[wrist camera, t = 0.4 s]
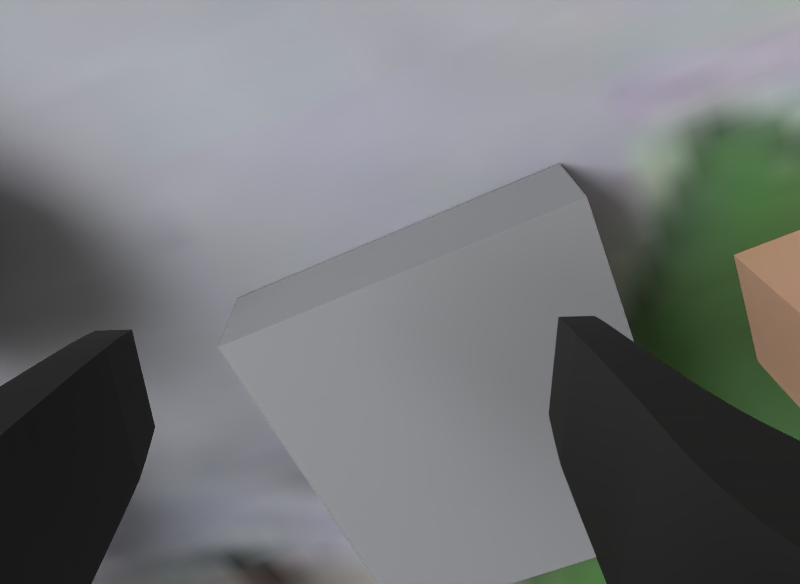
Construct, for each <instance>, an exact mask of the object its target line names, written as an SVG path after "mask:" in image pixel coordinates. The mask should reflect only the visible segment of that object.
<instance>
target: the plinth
mask: <svg viewBox="0 0 800 584" xmlns="http://www.w3.org/2000/svg"><path fill="white" fill-rule="evenodd" d="M570 316H596V317H597V318H599V319H601V320H602V321H604V322H606V323H607V324H609V325H610V326H612V327H613V328H614V329H616V330H617V331H619V332H620V333H622V334H623V335H624V336H626V337H627V338H629V339H630V340H632V341H633V342H634V340H633V337H632V334H631V331H630V328H629V325H628V322H627V319H626V315H625V312H624V309H623V306H622V303H621V300H620V297H619V294H618V291H617V288H616V285H615V282H614V278H613V275H612V272H611V269H610V266H609V263H608V260H607V257H606V254H605V251H604V248H603V245H602V242H601V238H600V235H599V232H598V229H597V226H596V223H595V220H594V217H593V214H592V211H591V208H590V205H589V202H588V198H587V196H586V195H585V194H584V193H583V191H582V190H581V189H580V188H579V186H578V185H577V184H576V183H575V182H574V180H573V179H572V178H571V177H570V175H569V174H568V173H567V172H566V171H565V169H564V168H563V167H562V166H561V164H560V163H559V164H556V165H554V166H552V167H549V168H547V169H545V170H542V171H540V172H537V173H535V174H533V175H530V176H528V177H525V178H523V179H521V180H518V181H516V182H514V183H511V184H509V185H506V186H504V187H502V188H499V189H497V190H494V191H492V192H490V193H487V194H485V195H483V196H480V197H478V198H475V199H473V200H471V201H468V202H466V203H463V204H461V205H459V206H456V207H454V208H452V209H449V210H447V211H444V212H442V213H440V214H437V215H435V216H432V217H430V218H428V219H425V220H423V221H421V222H418V223H416V224H413V225H411V226H409V227H406V228H404V229H401V230H399V231H397V232H394V233H392V234H390V235H387V236H385V237H382V238H380V239H378V240H375V241H373V242H370V243H368V244H366V245H363V246H361V247H359V248H356V249H354V250H351V251H349V252H347V253H344V254H342V255H339V256H337V257H335V258H332V259H330V260H328V261H325V262H323V263H320V264H318V265H316V266H313V267H311V268H308V269H306V270H304V271H301V272H299V273H297V274H294V275H292V276H289V277H287V278H285V279H282V280H280V281H277V282H275V283H273V284H270V285H268V286H266V287H263V288H261V289H258V290H256V291H254V292H251V293H249V294H246V295H244V296H242V297H239V298H237V301H236V303H235V305H234V308H233V310H232V313H231V315H230V318H229V320H228V323H227V325H226V327H225V330H224V332H223V335H222V337H221V340H220V342H219V345H218V347H217V348H218V349H219V351H220V352H221V354H222V355H223V357H224V358H225V360H226V361H227V363H228V364H229V366H230V367H231V369H232V370H233V372H234V373H235V374H236V376H237V377H238V379H239V380H240V382H241V383H242V385H243V386H244V388H245V389H246V391H247V392H248V394H249V395H250V397H251V398H252V400H253V401H254V403H255V404H256V406H257V407H258V408H259V410H260V411H261V413H262V414H263V416H264V417H265V419H266V420H267V422H268V423H269V425H270V426H271V428H272V429H273V431H274V432H275V434H276V435H277V437H278V438H279V440H280V441H281V443H282V444H283V445H284V447H285V448H286V450H287V451H288V453H289V454H290V456H291V457H292V459H293V460H294V462H295V463H296V465H297V466H298V468H299V469H300V471H301V472H302V474H303V475H304V477H305V478H306V479H307V481H308V482H309V484H310V485H311V487H312V488H313V490H314V491H315V493H316V494H317V496H318V497H319V499H320V500H321V502H322V503H323V505H324V506H325V508H326V509H327V511H328V512H329V513H330V515H331V516H332V518H333V519H334V521H335V522H336V524H337V525H338V527H339V528H340V530H341V531H342V533H343V534H344V536H345V537H346V539H347V540H348V542H349V543H350V545H351V546H352V548H353V549H354V550H355V552H356V553H357V555H358V556H359V558H360V559H361V561H362V562H363V564H364V565H365V567H366V568H367V570H368V571H369V573H370V574H371V576H372V577H373V579H374V580H375V582H376V583H377V584H512V583H515V582H518V581H521V580H524V579H528V578H531V577H534V576H537V575H540V574H544V573H547V572H550V571H553V570H556V569H559V568H563V567H566V566H569V565H572V564H575V563H579V562H582V561H585V560H588V559H591V558H595V557H596V555H595V552H594V550H593V547H592V545H591V542H590V540H589V537H588V535H587V532H586V529H585V527H584V524H583V522H582V519H581V517H580V514H579V512H578V509H577V507H576V504H575V501H574V499H573V496H572V494H571V491H570V488H569V486H568V483H567V481H566V478H565V475H564V473H563V470H562V467H561V465H560V461H559V457H558V453H557V449H556V445H555V441H554V436H553V432H552V427H551V423H550V419H549V405H550V395H551V385H552V375H553V365H554V356H555V346H556V336H557V326H558V317H570Z"/></svg>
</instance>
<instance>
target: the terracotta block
mask: <svg viewBox="0 0 800 584" xmlns="http://www.w3.org/2000/svg"><path fill="white" fill-rule="evenodd" d="M734 259H735V263H736V267H737V272H738V276H739V281H740V285H741V290H742V294H743V299H744V303H745V307H746V312H747V316H748V321H749V325H750V330H751V334H752V339H753V343H754V347H755V352H756V356H757V361H758V362H759V363H760V364H761V366H762V367H763V368H764V369H765V370H766V371H767V372H768V373H769V374H770V376H771V377H772V378H773V379H774V380H775V381H776V382H777V383H778V384H779V385H780V387H781V388H782V389H783V390H784V391H785V392H786V393H787V394H788V395H789V396H790V398H791V399H792V400H793V401H794V402H795V403H796V404H797V405H798V406H799V408H800V230H798V231H796V232H793V233H790V234H788V235H785V236H782V237H780V238H777V239H775V240H772V241H769V242H767V243H764V244H761V245H759V246H756V247H753V248H751V249H748V250H745V251H743V252H740V253H738V254H735V255H734Z"/></svg>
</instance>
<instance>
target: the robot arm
mask: <svg viewBox="0 0 800 584" xmlns="http://www.w3.org/2000/svg"><path fill="white" fill-rule="evenodd" d="M549 419H550V423H551V427H552V432H553V436H554V441H555V445H556V449H557V453H558V457H559V461H560V465H561V467H562V470H563V473H564V475H565V478H566V481H567V483H568V486H569V488H570V491H571V494H572V496H573V499H574V501H575V504H576V507H577V509H578V512H579V514H580V517H581V519H582V522H583V524H584V527H585V529H586V532H587V535H588V537H589V540H590V542H591V545H592V547H593V550H594V552H595V555H596V557H597V560H598V562H599V565H600V568H601V570H602V573H603V575H604V578H605V580H606V583H607V584H800V441H799V440H797V439H795V438H793V437H791V436H789V435H787V434H785V433H783V432H781V431H779V430H777V429H775V428H773V427H771V426H769V425H767V424H765V423H763V422H761V421H759V420H757V419H755V418H753V417H751V416H749V415H748V414H746V413H744V412H742V411H740V410H738V409H737V408H735V407H733V406H731V405H730V404H728V403H726V402H725V401H723V400H721V399H720V398H718V397H716V396H715V395H713V394H711V393H710V392H708V391H706V390H705V389H703V388H701V387H700V386H698V385H697V384H695V383H694V382H692V381H690V380H689V379H687V378H686V377H684V376H683V375H681V374H680V373H678V372H677V371H675V370H674V369H672V368H671V367H669V366H668V365H666V364H665V363H663V362H662V361H660V360H659V359H657V358H656V357H654V356H653V355H652V354H650V353H649V352H647V351H646V350H644V349H643V348H642V347H640V346H639V345H637V344H636V343H634V342H633V341H632V340H630V339H629V338H627V337H626V336H624V335H623V334H622V333H620V332H619V331H617V330H616V329H614V328H613V327H612V326H610V325H609V324H607V323H606V322H604V321H602V320H601V319H599V318H597V317H596V316H570V317H558V326H557V336H556V346H555V356H554V365H553V375H552V385H551V395H550V405H549ZM154 429H155V425H154V421H153V417H152V412H151V408H150V404H149V400H148V396H147V391H146V387H145V383H144V379H143V375H142V371H141V366H140V362H139V358H138V354H137V350H136V345H135V341H134V337H133V333H132V330H108V331H94V332H92V333H90V334H88V335H86V336H84V337H82V338H80V339H78V340H76V341H75V342H73V343H71V344H69V345H68V346H66V347H64V348H63V349H61V350H59V351H58V352H56V353H54V354H53V355H51V356H49V357H48V358H46V359H44V360H43V361H41V362H39V363H38V364H36V365H35V366H33V367H31V368H30V369H28V370H26V371H25V372H23V373H22V374H20V375H18V376H17V377H15V378H13V379H12V380H10V381H8V382H7V383H5V384H4V385H2V386H0V584H91V583H92V581H93V579H94V577H95V575H96V573H97V571H98V568H99V566H100V564H101V562H102V560H103V558H104V556H105V553H106V551H107V549H108V547H109V545H110V543H111V541H112V538H113V536H114V534H115V532H116V530H117V528H118V526H119V524H120V521H121V519H122V517H123V515H124V513H125V510H126V508H127V506H128V504H129V502H130V500H131V497H132V495H133V493H134V491H135V488H136V486H137V484H138V482H139V479H140V476H141V473H142V470H143V467H144V464H145V461H146V457H147V454H148V450H149V447H150V443H151V440H152V436H153V432H154Z"/></svg>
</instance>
